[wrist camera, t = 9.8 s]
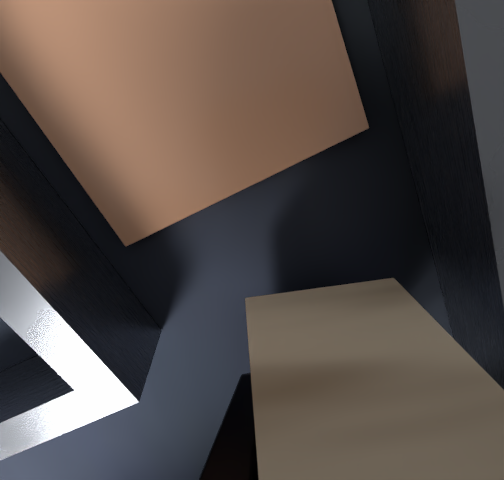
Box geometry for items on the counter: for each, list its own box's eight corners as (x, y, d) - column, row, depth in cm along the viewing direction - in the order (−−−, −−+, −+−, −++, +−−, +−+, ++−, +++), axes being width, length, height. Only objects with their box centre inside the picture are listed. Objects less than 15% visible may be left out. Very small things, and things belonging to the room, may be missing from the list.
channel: (499, 408, 14) (564, 480, 11) (52, 569, 17) (17, 659, 14) (357, -301, 6) (472, -674, 3) (-476, 246, 9) (-807, 309, 6)
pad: (363, 127, 9) (369, 128, 9) (129, 241, 10) (125, 246, 9) (265, -200, 6) (267, -219, 6) (-43, -2, 7) (-58, -8, 7)
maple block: (385, 386, 11) (544, 668, 5) (260, 403, 11) (292, 707, 5) (393, 277, 9) (645, 534, 4) (244, 298, 9) (266, 590, 4)
